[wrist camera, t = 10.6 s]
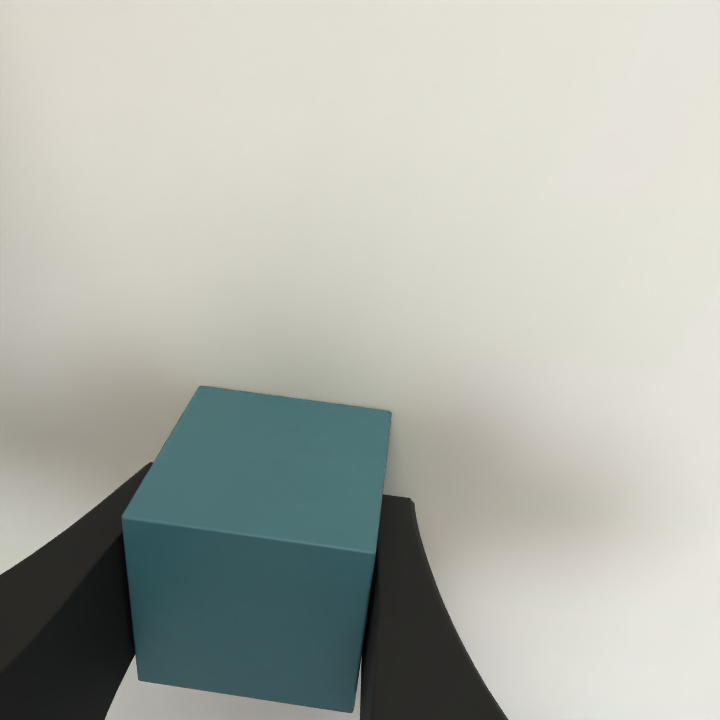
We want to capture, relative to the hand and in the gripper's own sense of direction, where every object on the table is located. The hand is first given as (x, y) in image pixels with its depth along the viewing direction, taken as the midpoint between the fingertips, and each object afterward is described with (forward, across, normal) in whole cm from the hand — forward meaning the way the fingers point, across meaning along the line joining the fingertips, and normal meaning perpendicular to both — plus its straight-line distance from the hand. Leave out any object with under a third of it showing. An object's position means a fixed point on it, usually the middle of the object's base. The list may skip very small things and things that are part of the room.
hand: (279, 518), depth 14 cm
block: (+1, 0, 0) cm, 1 cm away
